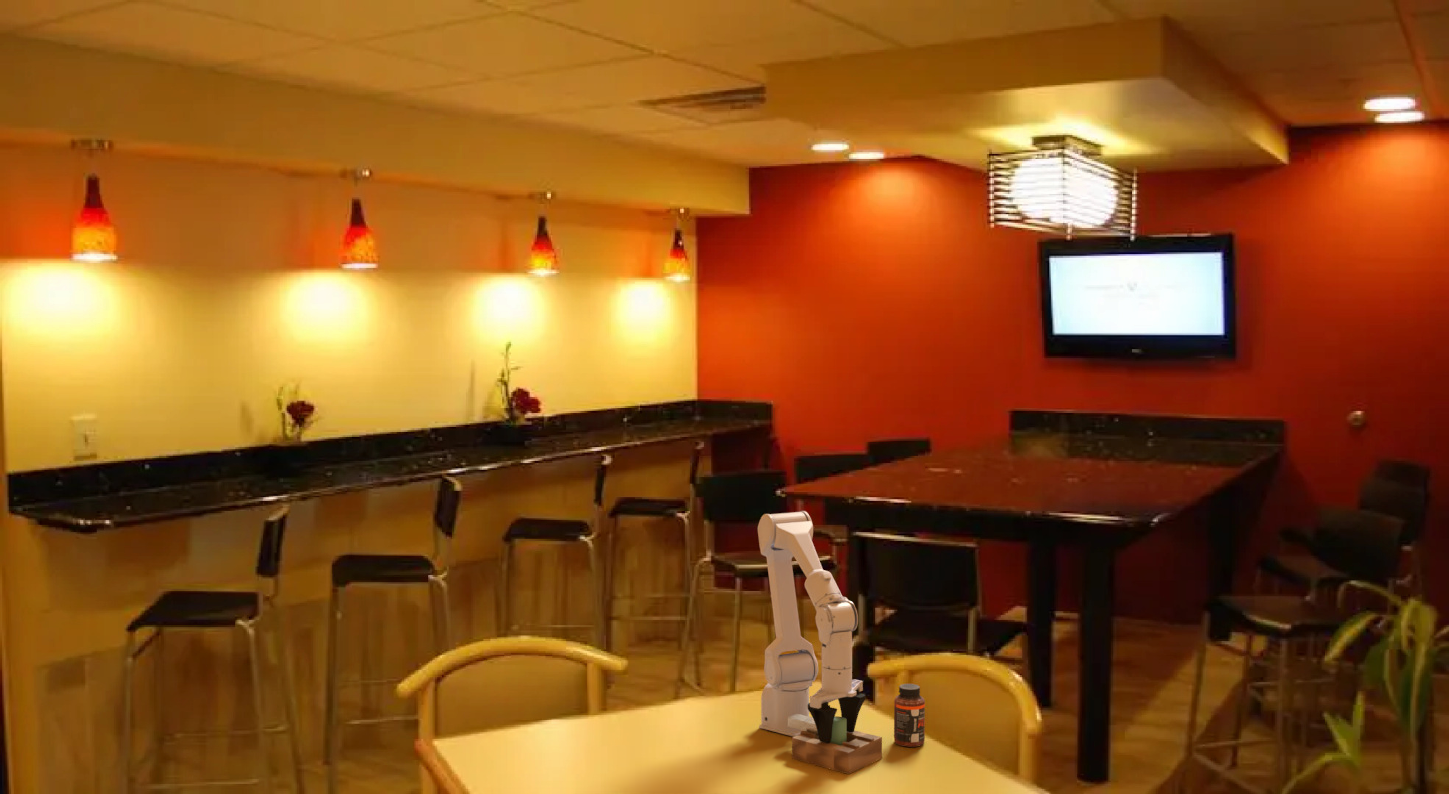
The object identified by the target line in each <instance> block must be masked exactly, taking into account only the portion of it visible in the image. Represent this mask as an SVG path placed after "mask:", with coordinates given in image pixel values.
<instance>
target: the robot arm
mask: <svg viewBox="0 0 1449 794" xmlns="http://www.w3.org/2000/svg"><path fill="white" fill-rule="evenodd" d="M757 535H758V543H759V544H758V545H759V549H760V555H761V556H764V557H766V565H767V572H768V581H769V582H768V583H769V588H770V589H769V590H770V597H771V605H772V612H773V613H772V614H773V622H774V623H773V624H774V630H775V639H774V640H773V641H772V642H771V643H770V644H769V645H768V646H767V647H766V649H764V665H763V666H764V667H763V673H764V677H765V680H766V681H767V684H766V685H765V686H764V688H763V689H762V692H761V698H760V699H761V700H760V703H761V706H760V707H761V710H760V712H761V714H760V715H761V719H760V720H761V724H759V725H758V727H759V729H762V730H766V731H771V732H773V733H774V732H775V733H778V734H781V735H785V736H790V737H792V738H793V737H795V736H797V735H800V734H801V731H803V730H799V729H795V728H792V727H788V717H790V716H793V715H795V714H801V715H805V716H809V717H810V715H811V717H813V719H814V722H815V725H816V728H817V731H818V735H819V739H820V741H821V742H825V743H830V742H831V738H832V726H833V721H834V717H835V716H836V713H837V711H838V708H837V707H831V704H829V703H832V702H834V701H836V700H837V701H838V704H839V708H840V715H841V716H840V717H844V718H846V719H847V732H851V733H852V732H854V730H856V724H857V720H858V716H859V713H860V711H861V708H862V706H863V704H864V702H865V701H866V694H865V693H862V691H864V687H863V686H864V685H863V684H864V680H859V679H853V673H852V672H853V640H852V639H853V632H854V631H856V629H857V627H858V624H859V614H858V610H857V608H856V606H855V604H854V602H853V601H851V600H849V599H848V597H846V596H843V595H842V593H841V590H840V589H839V586H838V585H837V582H836V580H835V579H834V577H833V574H832V573H831V572H830V571H828V570H824V569H823V566H822V563H821V562H820V559H819V556H818V553H817V551H816V547H815V546H814V545H815V544H814V543H813V536H814V525H813V521H812V518H811V516H810V515H809V513H808V512H807V511H806V510H800V511H795V512H781V513H771V514H770V513H764V514H763V515H762V516H761V517H760V519H759V522H758V526H757ZM793 558H794V559H795V560H796V562H797V563H798V565H799V567H800V569H801V571H802V572H803V574H804V575H805V577H806V579H805V582H804V589H805V590H806V592H807V594H808V597H809V598H810V601H811V603H812V605H813V607H814V609H815V611H816V613H815V614H816V615H814V616H815V617H814V618H815V624H816V628H817V632H818V640H819V642H820V643H821V687H820V688H819V689H818V690H817V691H816V692H815V693H814V694H813V695H811V696H810V687H813V682H815V681H816V679H817V677H818V673H819V663H818V659H817V657H816V655H815V651H814V646H813V644H812V643H811V642H809V641H808V639H807V640H806V639H805V638H804V637H802V635H801V634H802V633H801V627H800V618H799V613H798V612H799V611H798V602H797V594H796V587H795V578H794V571H793V562H792V559H793ZM794 651H797V652H794ZM787 652H791V653H787ZM782 653H785V654H782Z"/></svg>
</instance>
